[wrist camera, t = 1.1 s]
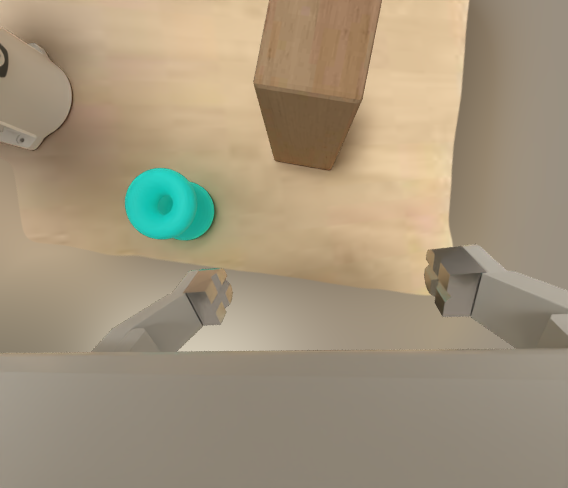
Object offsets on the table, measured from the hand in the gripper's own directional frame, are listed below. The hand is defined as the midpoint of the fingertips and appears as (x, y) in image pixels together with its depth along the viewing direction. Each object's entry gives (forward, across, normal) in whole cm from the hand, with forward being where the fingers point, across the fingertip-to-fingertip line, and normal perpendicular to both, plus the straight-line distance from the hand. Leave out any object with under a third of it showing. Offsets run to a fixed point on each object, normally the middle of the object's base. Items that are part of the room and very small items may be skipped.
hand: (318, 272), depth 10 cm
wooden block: (+37, +2, -1) cm, 37 cm away
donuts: (+29, +24, +6) cm, 38 cm away
